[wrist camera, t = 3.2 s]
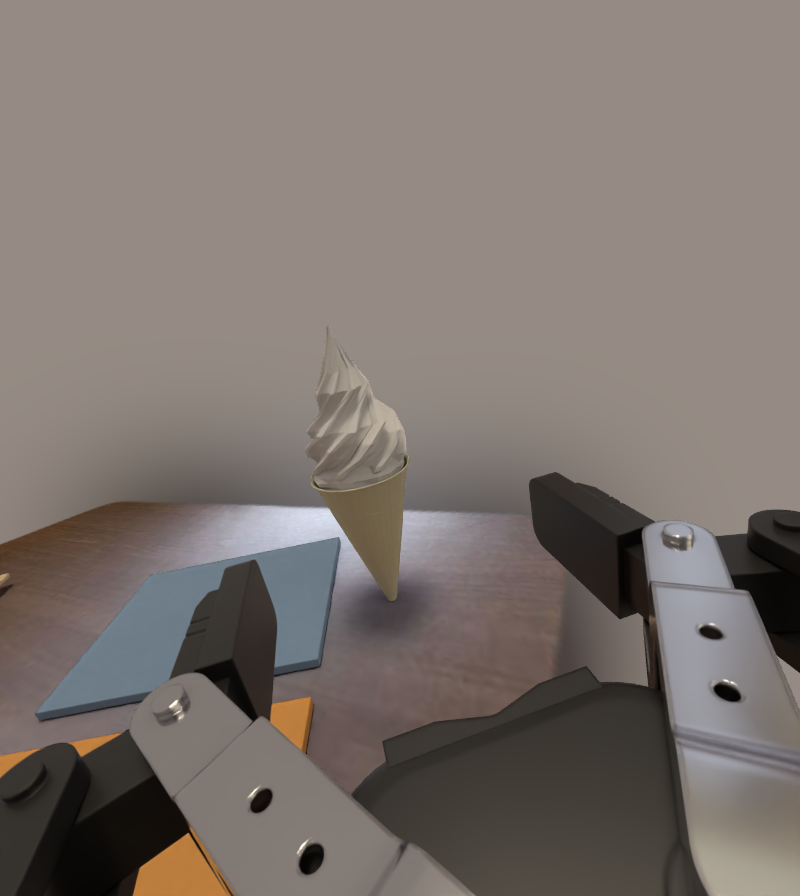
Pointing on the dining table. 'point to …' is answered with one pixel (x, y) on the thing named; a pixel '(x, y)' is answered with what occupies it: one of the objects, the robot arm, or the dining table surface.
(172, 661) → the slate pad
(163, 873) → the caramel pad
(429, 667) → the dining table surface
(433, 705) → the dining table surface
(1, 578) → the popsicle
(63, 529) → the dining table surface
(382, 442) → the ice cream cone
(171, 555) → the dining table surface
